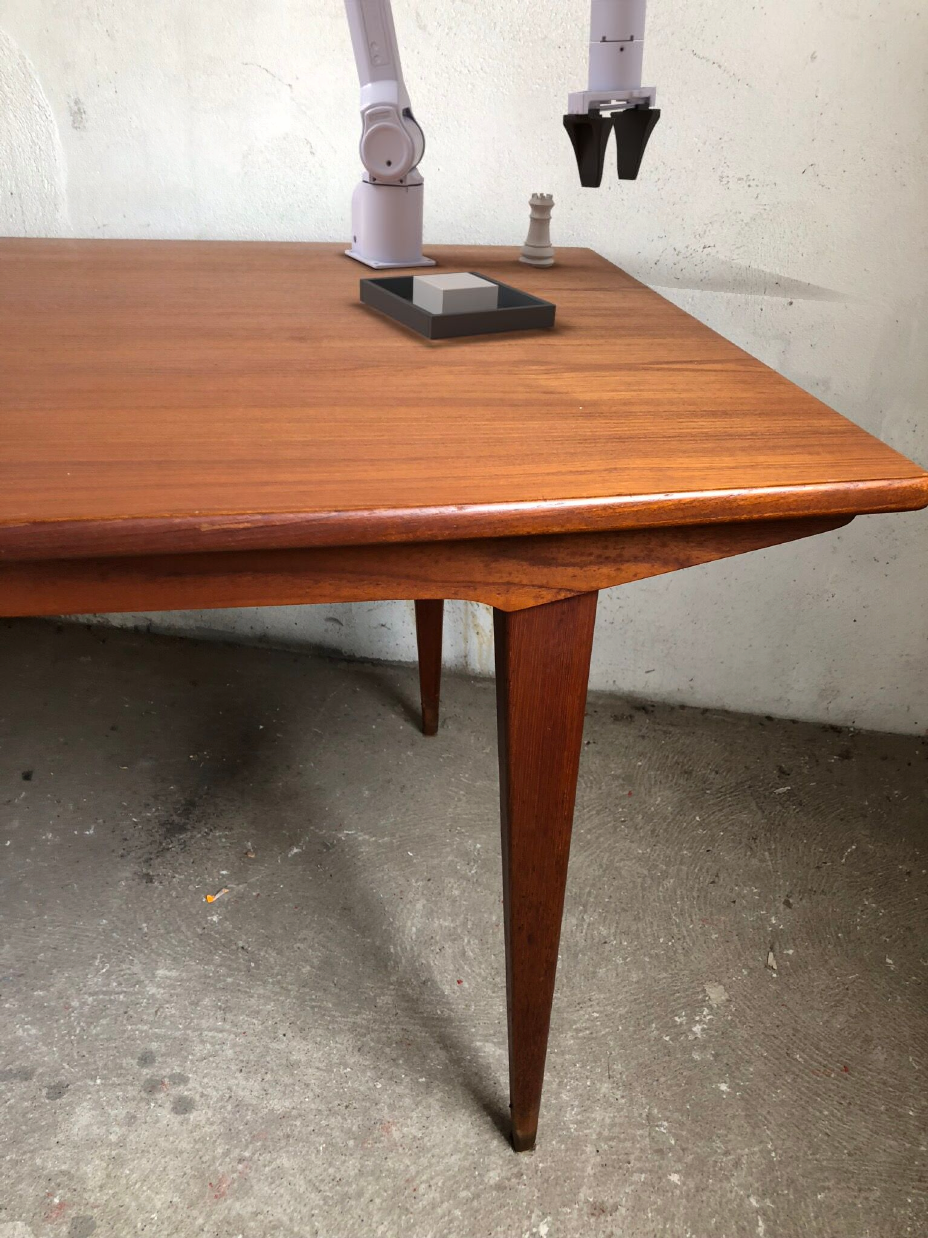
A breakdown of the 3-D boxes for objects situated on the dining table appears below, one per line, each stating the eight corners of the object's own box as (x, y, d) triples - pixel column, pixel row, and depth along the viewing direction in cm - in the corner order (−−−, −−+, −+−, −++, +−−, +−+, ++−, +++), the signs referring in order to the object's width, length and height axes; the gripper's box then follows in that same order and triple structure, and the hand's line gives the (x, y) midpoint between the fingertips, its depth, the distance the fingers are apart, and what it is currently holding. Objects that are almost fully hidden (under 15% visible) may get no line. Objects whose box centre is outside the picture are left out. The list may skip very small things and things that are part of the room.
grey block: (412, 307, 89) (413, 275, 88) (465, 303, 92) (467, 272, 90) (441, 322, 85) (443, 289, 83) (496, 317, 87) (498, 285, 86)
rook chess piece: (551, 269, 111) (558, 198, 107) (515, 265, 112) (521, 194, 107) (555, 262, 115) (562, 193, 110) (521, 259, 115) (526, 190, 111)
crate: (359, 305, 91) (359, 278, 90) (472, 296, 97) (474, 270, 96) (430, 346, 80) (431, 316, 79) (553, 332, 86) (556, 304, 85)
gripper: (611, 41, 89) (603, 192, 96) (684, 39, 98) (672, 177, 106) (552, 43, 93) (549, 188, 100) (628, 41, 102) (620, 174, 110)
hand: (609, 183), depth 103 cm, fingers open, 7 cm apart
